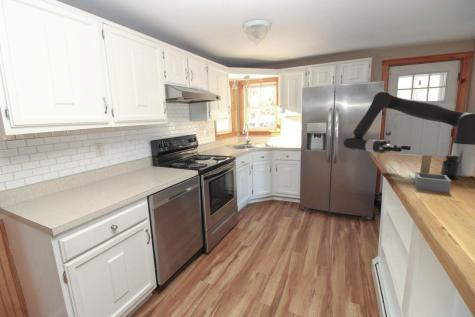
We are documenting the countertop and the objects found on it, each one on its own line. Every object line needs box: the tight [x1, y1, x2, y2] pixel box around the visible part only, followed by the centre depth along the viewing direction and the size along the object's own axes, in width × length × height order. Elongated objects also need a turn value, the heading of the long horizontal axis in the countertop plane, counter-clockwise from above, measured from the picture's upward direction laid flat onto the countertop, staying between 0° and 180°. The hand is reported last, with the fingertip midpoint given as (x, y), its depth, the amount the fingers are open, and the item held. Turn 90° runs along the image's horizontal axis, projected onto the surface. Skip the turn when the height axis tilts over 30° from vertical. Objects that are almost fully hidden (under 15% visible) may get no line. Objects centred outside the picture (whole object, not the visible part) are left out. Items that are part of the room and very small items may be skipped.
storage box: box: [413, 171, 452, 194], centre depth 103 cm, size 11×11×6 cm
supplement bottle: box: [439, 154, 460, 181], centre depth 119 cm, size 7×7×12 cm
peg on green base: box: [408, 154, 433, 181], centre depth 115 cm, size 11×11×13 cm
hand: (405, 149), depth 123 cm, fingers open, 8 cm apart
